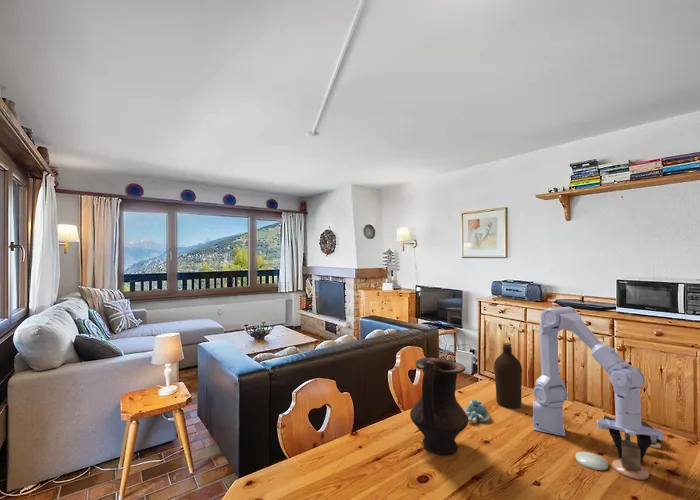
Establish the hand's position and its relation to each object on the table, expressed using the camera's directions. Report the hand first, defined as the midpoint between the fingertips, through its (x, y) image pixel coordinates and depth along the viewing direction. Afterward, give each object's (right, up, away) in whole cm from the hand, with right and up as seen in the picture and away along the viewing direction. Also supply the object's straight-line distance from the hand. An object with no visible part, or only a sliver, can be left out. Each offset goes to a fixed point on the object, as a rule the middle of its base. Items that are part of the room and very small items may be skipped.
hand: (629, 458), depth 97 cm
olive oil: (-13, -5, +45) cm, 48 cm away
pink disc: (0, -3, 0) cm, 3 cm away
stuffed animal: (-32, -5, +33) cm, 46 cm away
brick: (+19, -4, +17) cm, 26 cm away
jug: (-51, -5, +13) cm, 53 cm away
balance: (+9, -4, +12) cm, 16 cm away
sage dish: (-8, -4, +4) cm, 10 cm away
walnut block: (0, -2, 0) cm, 2 cm away
